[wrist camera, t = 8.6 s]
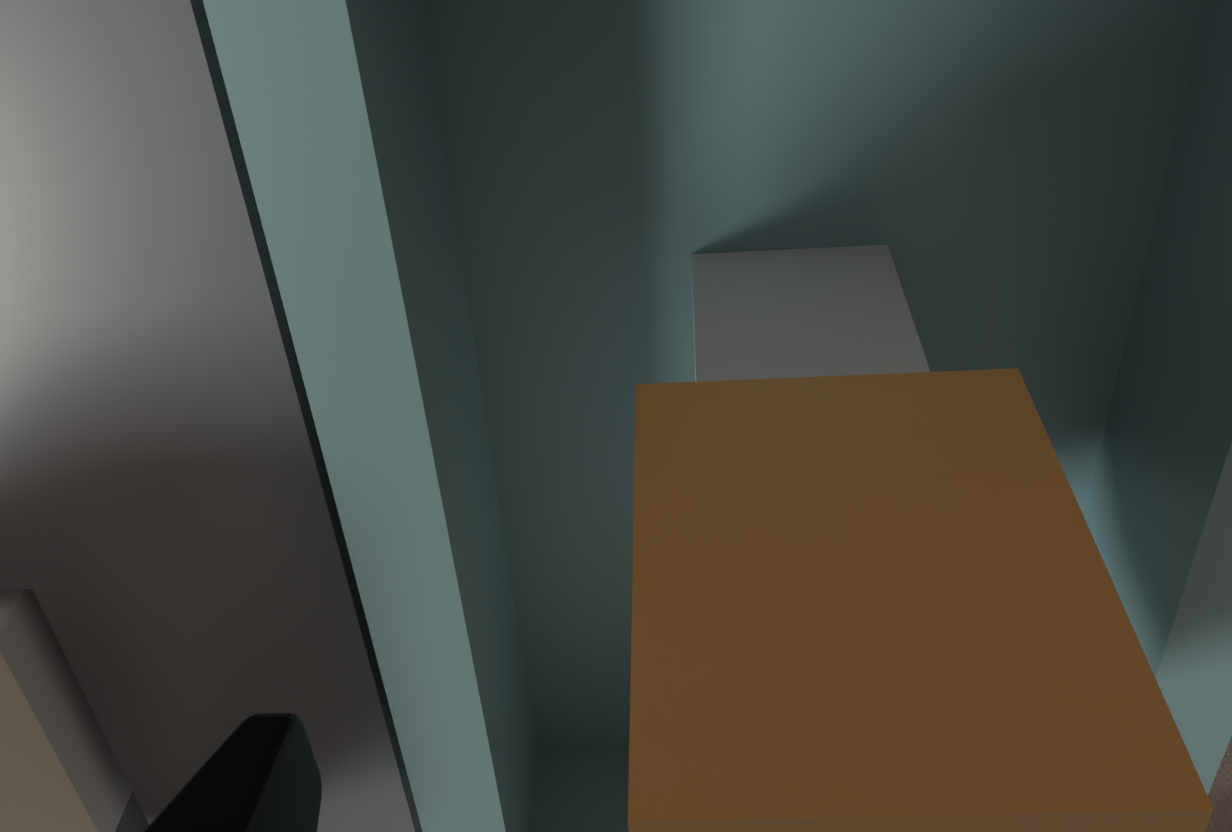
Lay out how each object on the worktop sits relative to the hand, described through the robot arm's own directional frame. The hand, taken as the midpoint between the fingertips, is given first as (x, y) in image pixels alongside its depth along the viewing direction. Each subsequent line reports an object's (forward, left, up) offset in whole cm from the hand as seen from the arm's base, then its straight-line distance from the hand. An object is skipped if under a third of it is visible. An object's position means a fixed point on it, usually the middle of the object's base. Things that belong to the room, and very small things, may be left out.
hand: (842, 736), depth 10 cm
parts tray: (0, 0, -5) cm, 5 cm away
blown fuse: (0, 0, -4) cm, 5 cm away
